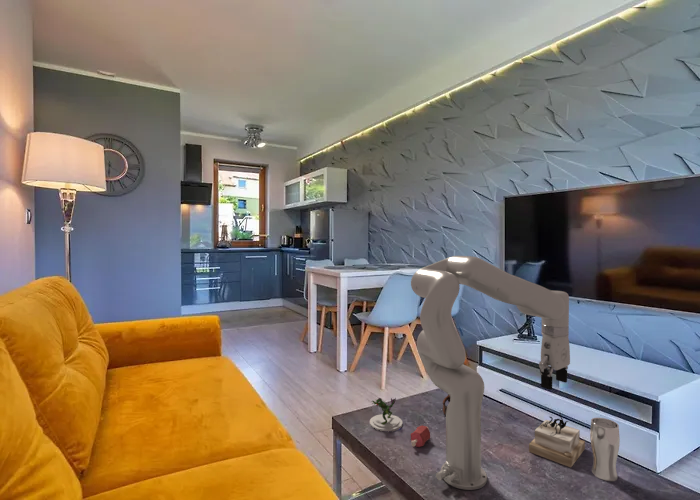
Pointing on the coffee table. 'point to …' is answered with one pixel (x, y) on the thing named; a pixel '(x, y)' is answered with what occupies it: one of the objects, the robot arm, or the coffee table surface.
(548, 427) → the creature
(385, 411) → the monster figurine
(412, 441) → the meat
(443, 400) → the pottery mug
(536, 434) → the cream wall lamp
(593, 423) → the beer glass
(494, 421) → the coffee table surface
